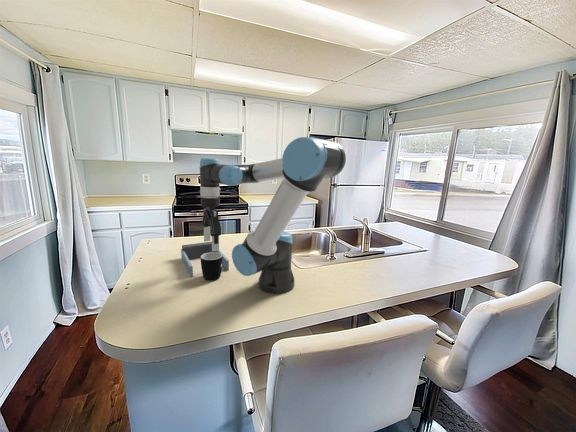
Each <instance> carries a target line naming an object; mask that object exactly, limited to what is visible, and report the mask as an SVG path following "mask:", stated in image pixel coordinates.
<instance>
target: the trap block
mask: <svg viewBox="0 0 576 432" xmlns="http://www.w3.org/2000/svg"><path fill="white" fill-rule="evenodd" d="M181 249H182V250H183V251H185V253H186V255H187V257H188V259H189V260H190V261H193V260H199V259H200V260H201V255H203V254H205V253H209V252H215V251H212V241H205V242H197V243H190V244H182V245H181Z"/></svg>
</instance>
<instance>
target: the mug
mask: <svg viewBox="0 0 576 432" xmlns="http://www.w3.org/2000/svg"><path fill="white" fill-rule="evenodd" d="M200 268H201V273H202V276H203V279H204V280H206V281H209V282H212V281H214V282H215V281H217V280H219V279H220V278H221V276H222V268H223V265H222V254H220V253H217V252H209V253H205V254H203V255H201V258H200Z"/></svg>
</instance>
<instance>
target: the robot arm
mask: <svg viewBox="0 0 576 432" xmlns="http://www.w3.org/2000/svg"><path fill="white" fill-rule="evenodd" d="M346 161H347V156H346V151H345V150H344V148H343V146H341V144H339V143H338V142H337V141H334V140H331V139H323V138H317V137H315V136H301V137H298V138H295V139H293V140H291V142H289V143H288V144H287V145H286V147H285V149H284V151H283V154H282V157H280V158H277V159H271V160H267V161H261V162H257V163H251V164H222V163H220V159H219V158H211V157H206V158H205V157H203V158H200V160H199V181H200V182H199V183H200V184H199V185H200V186H199V187H200V188H199V189H200V191H199V192H200V196H201V197H200V206H201V207H203V214H202V226H203V241H204V242H212V251H219V250H220V236H221V228H220V227H221V226H220V220H219V210H216V208H218V207H220V205H221V203H220V202H221V199H220V197H219V196H220V193H221V191H222V189H221V188H220V185H225V186H233V187H234V186H238V185H241V184H257V183H260V182H267V181H268V182H269V181H274V180H276V181H277V180H281V179H282V181H281V182H280V184H279V186H278V188H277V190H276V192H275V194H274V196H272V197H273V198H272V199H271V201H270V203H269V205H268V206H267V208H266V210H265V211H264V213H263V215H262V217H261V219H260V220H259V222H258V224H257V226H256V228H255V230H252V231H250V232H249V233H248V234H247V235H246V237H245V239H244V240H243V242H242V243H238V244H236V245H234V247H233V248H232V251H231V258H232V262H233V265H234V268H235V269H236V271H237V272H238V273H240V274H241V275H242V276H246V277H250V276H254V275H256V274H257V273H260V275H259V277H258V287H259V289H261V290H262V291H263V292H264V291H265V292H267V293H272V294H284V293H287V292H290V291H292V290H293V289H294V287H295V277H294V273H293V269H292V255H293V244H294V243H293V235H292V234H291V233H290V232H287V231H285V230H286V228H287V227H288V225H289V223H291V220H292V219H293V217H294V215H295V214H296V212H297V211H298V209H299V208H300V206H301V204H302V203H303V202H304V200H305V198H306V197H307V196H308V194H310V193H314V192H315V191H316V190H317V189H318V187H319V186H320V184H321V183H322V181H323V180H324V179H330V178H334V177H336V176H338V175H339V174H340V173H341V172H342V171H343V169H344V168H345V165H346ZM204 242H203V243H204Z"/></svg>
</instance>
